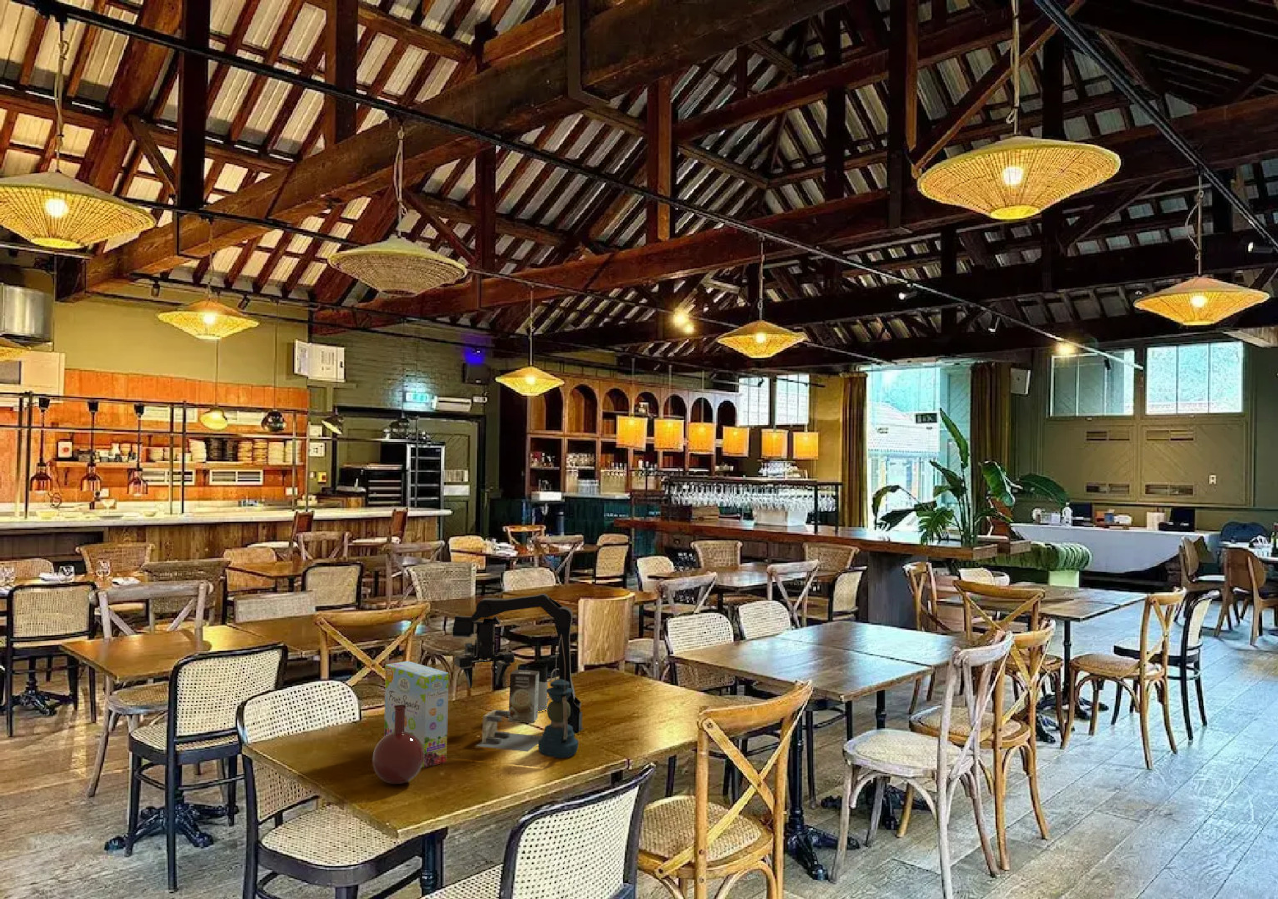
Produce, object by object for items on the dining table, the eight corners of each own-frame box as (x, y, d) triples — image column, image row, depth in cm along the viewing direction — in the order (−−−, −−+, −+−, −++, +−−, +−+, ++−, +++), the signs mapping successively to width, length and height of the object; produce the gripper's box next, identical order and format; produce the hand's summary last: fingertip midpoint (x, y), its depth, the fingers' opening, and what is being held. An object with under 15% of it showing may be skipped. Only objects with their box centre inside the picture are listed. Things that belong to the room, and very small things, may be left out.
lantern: (532, 748, 264) (535, 631, 265) (570, 744, 268) (573, 629, 270) (544, 762, 251) (547, 639, 252) (584, 758, 255) (586, 637, 256)
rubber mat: (547, 738, 274) (547, 736, 274) (527, 753, 259) (527, 751, 259) (496, 733, 278) (497, 731, 278) (474, 747, 263) (475, 746, 263)
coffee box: (507, 721, 293) (508, 673, 293) (512, 716, 299) (513, 669, 300) (534, 723, 292) (535, 674, 292) (538, 718, 298) (539, 670, 299)
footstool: (509, 737, 273) (510, 711, 273) (498, 744, 265) (499, 717, 266) (493, 735, 274) (493, 709, 275) (482, 742, 267) (482, 715, 267)
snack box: (380, 752, 257) (383, 663, 258) (406, 746, 263) (409, 660, 264) (422, 769, 242) (425, 675, 243) (448, 762, 249) (451, 671, 250)
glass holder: (520, 707, 312) (521, 665, 312) (557, 704, 318) (558, 662, 318) (527, 713, 304) (528, 670, 304) (566, 710, 310) (567, 667, 310)
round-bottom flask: (416, 772, 240) (418, 698, 240) (428, 787, 228) (431, 709, 229) (367, 779, 233) (369, 703, 234) (377, 794, 222) (380, 715, 223)
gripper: (503, 631, 295) (501, 678, 295) (449, 635, 286) (448, 683, 285) (515, 637, 286) (514, 685, 285) (460, 641, 276) (459, 691, 275)
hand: (484, 686), depth 283 cm, fingers open, 9 cm apart
